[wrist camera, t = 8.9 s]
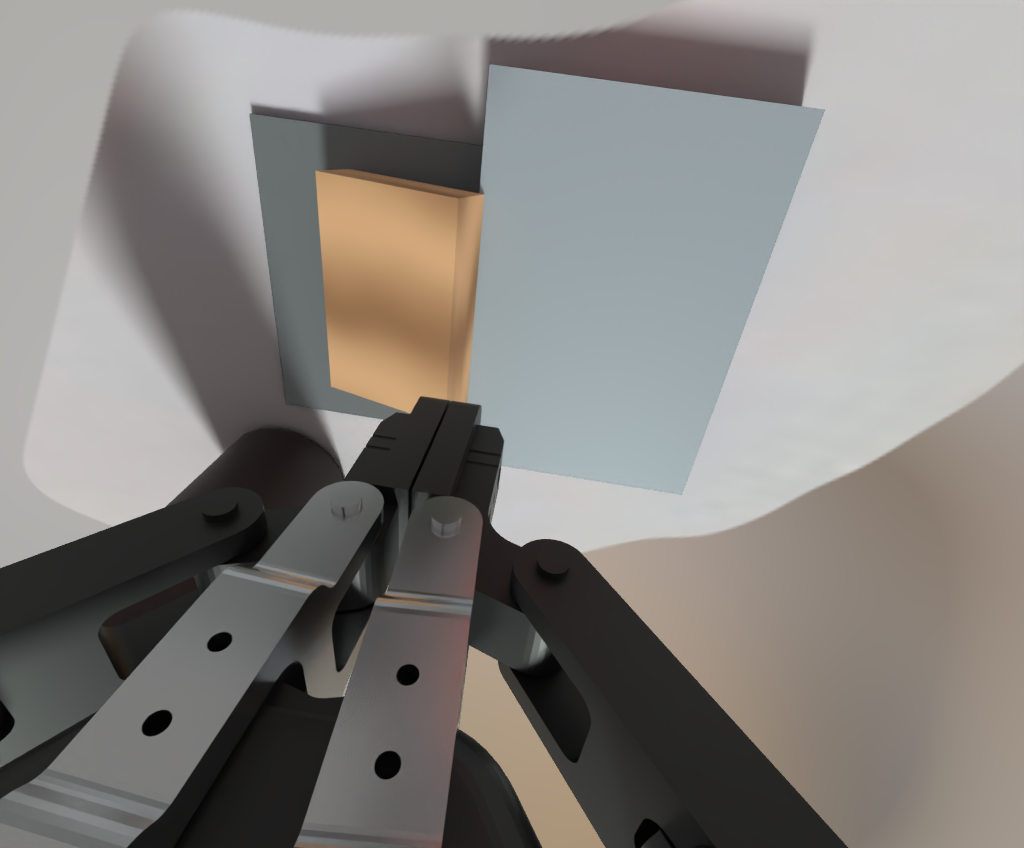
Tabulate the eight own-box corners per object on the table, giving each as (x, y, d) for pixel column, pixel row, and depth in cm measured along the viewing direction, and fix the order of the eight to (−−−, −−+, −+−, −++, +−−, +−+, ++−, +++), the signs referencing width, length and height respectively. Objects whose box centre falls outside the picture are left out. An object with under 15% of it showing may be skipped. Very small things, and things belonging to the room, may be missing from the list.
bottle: (240, 405, 27) (-327, 880, 10) (359, 454, 28) (21, 971, 11) (225, 494, 31) (-218, 961, 14) (332, 535, 32) (42, 1026, 14)
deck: (497, 69, 19) (489, 64, 17) (801, 111, 18) (825, 109, 16) (465, 437, 27) (458, 459, 25) (675, 470, 26) (681, 494, 25)
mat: (253, 113, 20) (249, 113, 20) (486, 146, 20) (484, 146, 20) (288, 401, 27) (286, 404, 27) (462, 428, 27) (461, 431, 26)
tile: (350, 169, 20) (315, 170, 19) (484, 194, 19) (458, 198, 17) (358, 371, 25) (330, 386, 23) (466, 406, 23) (444, 425, 22)
